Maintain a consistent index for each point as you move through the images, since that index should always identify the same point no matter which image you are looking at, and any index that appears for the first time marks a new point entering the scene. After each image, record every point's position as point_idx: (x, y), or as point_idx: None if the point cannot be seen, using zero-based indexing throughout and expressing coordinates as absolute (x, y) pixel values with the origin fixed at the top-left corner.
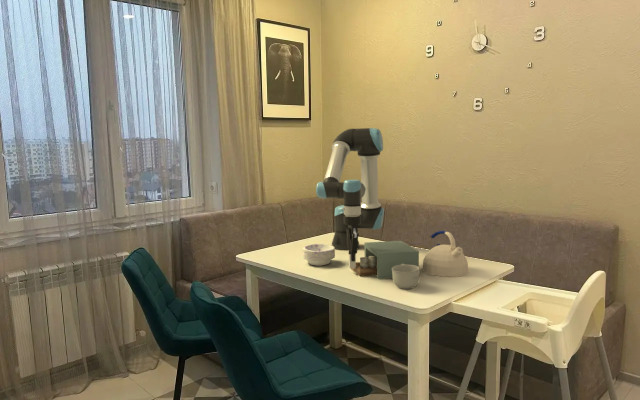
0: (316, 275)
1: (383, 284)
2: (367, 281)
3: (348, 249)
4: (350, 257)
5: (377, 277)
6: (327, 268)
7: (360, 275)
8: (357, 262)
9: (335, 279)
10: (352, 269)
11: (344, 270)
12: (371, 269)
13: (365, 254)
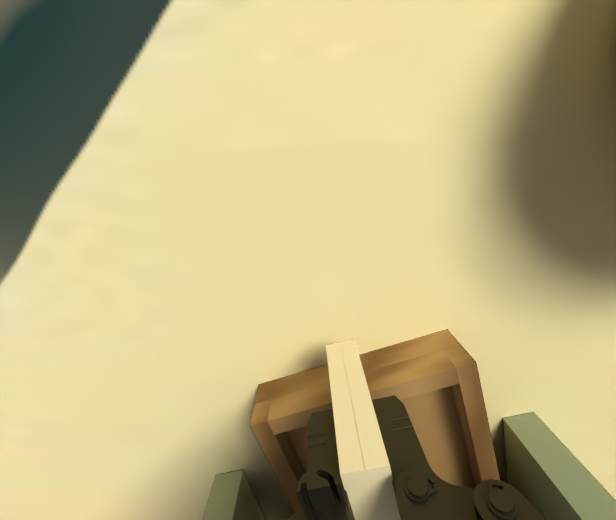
0: (259, 22)
1: (115, 492)
2: (155, 422)
3: (475, 509)
4: (338, 435)
5: (231, 475)
6: (502, 127)
7: (259, 392)
8: (477, 408)
9: (159, 219)
10: (420, 341)
11: (419, 281)
12: (284, 485)
13: (587, 515)
